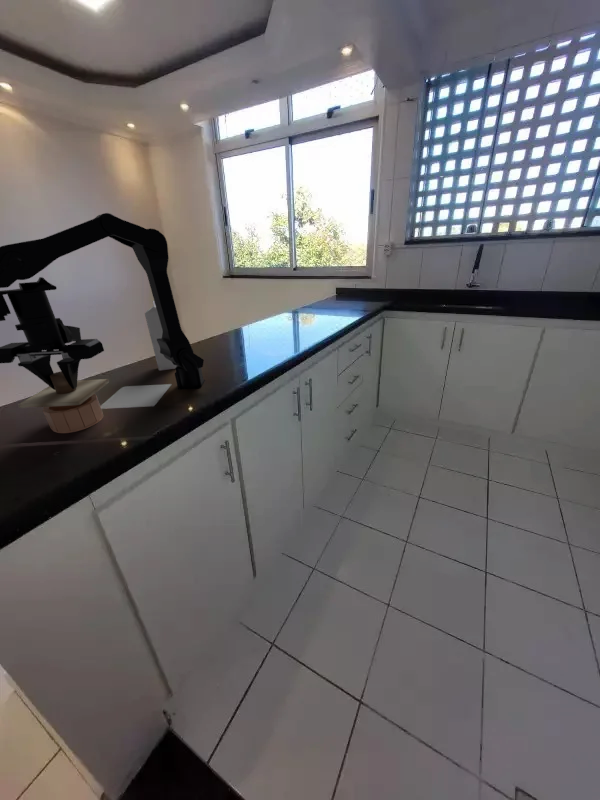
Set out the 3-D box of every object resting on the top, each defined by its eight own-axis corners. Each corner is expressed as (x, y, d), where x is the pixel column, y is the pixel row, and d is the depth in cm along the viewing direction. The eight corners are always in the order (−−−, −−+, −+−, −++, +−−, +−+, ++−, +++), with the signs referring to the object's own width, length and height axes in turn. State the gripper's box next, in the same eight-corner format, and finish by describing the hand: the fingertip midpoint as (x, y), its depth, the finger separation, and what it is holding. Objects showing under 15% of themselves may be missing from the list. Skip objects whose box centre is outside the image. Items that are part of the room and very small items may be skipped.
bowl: (112, 412, 76) (105, 391, 74) (89, 433, 67) (80, 411, 65) (70, 414, 76) (62, 394, 74) (42, 436, 67) (31, 414, 65)
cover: (109, 382, 74) (102, 363, 72) (79, 404, 63) (71, 383, 61) (58, 384, 74) (50, 365, 72) (19, 408, 63) (8, 386, 61)
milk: (159, 372, 101) (141, 302, 91) (161, 366, 106) (144, 299, 96) (178, 369, 102) (163, 300, 93) (179, 364, 108) (164, 298, 98)
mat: (172, 385, 90) (171, 384, 90) (154, 408, 77) (153, 406, 77) (123, 388, 90) (123, 386, 89) (97, 411, 77) (96, 409, 77)
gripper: (105, 307, 68) (125, 373, 75) (19, 311, 68) (47, 377, 75) (75, 317, 58) (101, 392, 65) (-27, 321, 58) (11, 396, 65)
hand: (65, 388), depth 68 cm, fingers closed on cover, 4 cm apart
